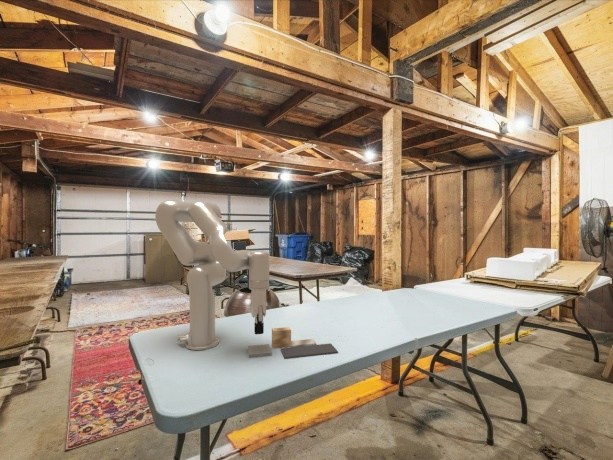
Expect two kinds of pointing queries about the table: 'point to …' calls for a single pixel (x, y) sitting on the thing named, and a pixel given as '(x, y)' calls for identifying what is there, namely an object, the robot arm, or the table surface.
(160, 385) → the table surface
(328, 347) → the mat
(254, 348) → the tile
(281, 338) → the tan stepped block piece
